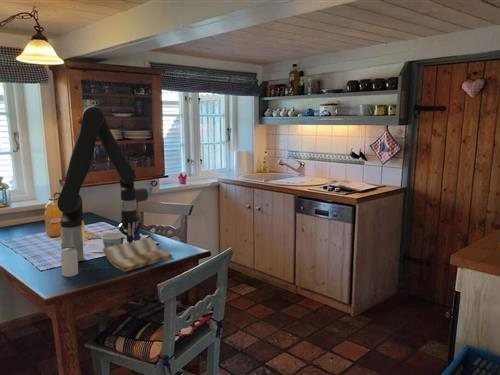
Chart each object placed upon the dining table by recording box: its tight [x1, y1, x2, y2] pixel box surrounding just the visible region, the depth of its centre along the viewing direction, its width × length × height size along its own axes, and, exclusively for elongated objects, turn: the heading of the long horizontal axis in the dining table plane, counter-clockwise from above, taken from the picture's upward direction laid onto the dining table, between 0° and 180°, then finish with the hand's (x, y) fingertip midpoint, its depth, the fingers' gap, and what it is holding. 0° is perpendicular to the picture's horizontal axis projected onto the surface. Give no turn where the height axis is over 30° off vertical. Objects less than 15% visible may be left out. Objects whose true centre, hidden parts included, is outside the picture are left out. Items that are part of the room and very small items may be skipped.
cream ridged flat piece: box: [102, 237, 161, 266], centre depth 203 cm, size 26×10×2 cm, turn 136°
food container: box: [100, 231, 126, 248], centre depth 217 cm, size 12×12×6 cm
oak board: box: [112, 248, 173, 273], centre depth 197 cm, size 26×10×2 cm, turn 136°
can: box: [60, 246, 79, 278], centre depth 179 cm, size 6×6×12 cm
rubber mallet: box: [133, 187, 149, 241], centre depth 224 cm, size 12×8×30 cm, turn 129°
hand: (130, 242), depth 204 cm, fingers closed
